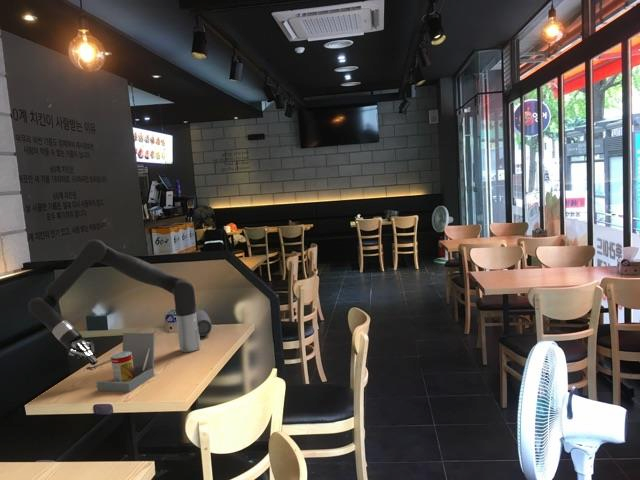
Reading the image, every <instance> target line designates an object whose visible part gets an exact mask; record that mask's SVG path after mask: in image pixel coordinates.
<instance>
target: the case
mask: <svg viewBox="0 0 640 480" xmlns="http://www.w3.org/2000/svg"><path fill="white" fill-rule="evenodd" d="M122 334H123V335H122V352H123V351H130V352H132V359H133V366H134V373H135V378H134V379H132V380H131V381H129V382H114V381H101V380H99V381H96V382H95V383H96V388H97V389H96V390H97V391H98V392H121V393H131V392H132V391H134V390H135V389H137V388H138V387H140V386H141V385H143V384H144V383H146V382H147V381H149V380H150V379H152V378H153V377H155V370H154V368H155V339H156V337H155V335H156V334H155V332H153V333H152V332H123V333H122Z"/></svg>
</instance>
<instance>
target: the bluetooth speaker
mask: <svg viewBox="0 0 640 480" xmlns="http://www.w3.org/2000/svg"><path fill="white" fill-rule="evenodd" d="M196 317H197V325H198V327H199V335H200V336H207V335H208V334H210V333H211V331H212V327H213V326H212V321H211V318H210V316H209V314H208V313H206V311H204V310H203V309H198V310H197V309H196Z"/></svg>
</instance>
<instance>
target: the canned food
mask: <svg viewBox="0 0 640 480" xmlns="http://www.w3.org/2000/svg"><path fill="white" fill-rule="evenodd" d="M110 359H111V361H110V362H111V367H112V375H113V379H114V380H113V382H129V381H131V380H132V379H134V378H136V376H135V373H134V366H133V359H132V352H130V351H123V350H122V351H117V352H115V353H113V354H112V355H110Z"/></svg>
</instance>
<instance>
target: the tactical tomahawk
mask: <svg viewBox="0 0 640 480" xmlns="http://www.w3.org/2000/svg"><path fill="white" fill-rule="evenodd" d="M109 361H110V362H112V361H111V358H109V359H108V360H105V361H103V362H100V363H98V364H95V365H93V366H87V367H86V369H87V370H90V371H93V370H94V369H95V370H96V369H97V368H98V367H99V366H103V365H105V364H108V363H110V362H109ZM107 362H108V363H107Z"/></svg>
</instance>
